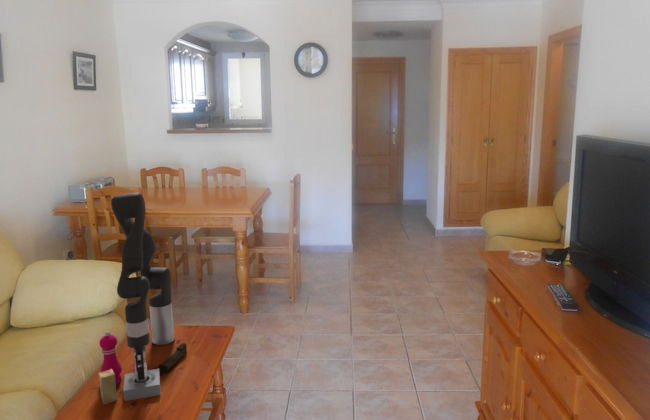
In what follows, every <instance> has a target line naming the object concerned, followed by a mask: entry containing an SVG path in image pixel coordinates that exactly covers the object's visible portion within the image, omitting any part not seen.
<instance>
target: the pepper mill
mask: <svg viewBox="0 0 650 420" xmlns="http://www.w3.org/2000/svg"><path fill="white" fill-rule="evenodd" d="M117 344H118V339H117V337H116V335H113V334H111V332H110V331H106V332H105V333H104V335H103V336H102V337H100V339H99V346H100V348H101V354H102V355H103V362H102V365H101V368H100V372H103V371H106V370H110V369H112V370H113V372H114V374H115V382H116V385H118V384H120V383H121V382H122V375H121V373H122V370H123V368H122V365H121V363H120V361H119V360H118V358H117V354H116V353H117Z"/></svg>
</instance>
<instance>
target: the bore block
mask: <svg viewBox="0 0 650 420" xmlns="http://www.w3.org/2000/svg"><path fill="white" fill-rule="evenodd" d="M160 374H161V373H160V372H159V369H158V368H155V369H147V376H148V381H146V382H144V383H136V375H135V372H130V373H125V374H124V377H123V378H124V380H123V389H122V392H123V402H129V401H134V400H139V399H146V398H150V397H157V396H161V375H160Z"/></svg>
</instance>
